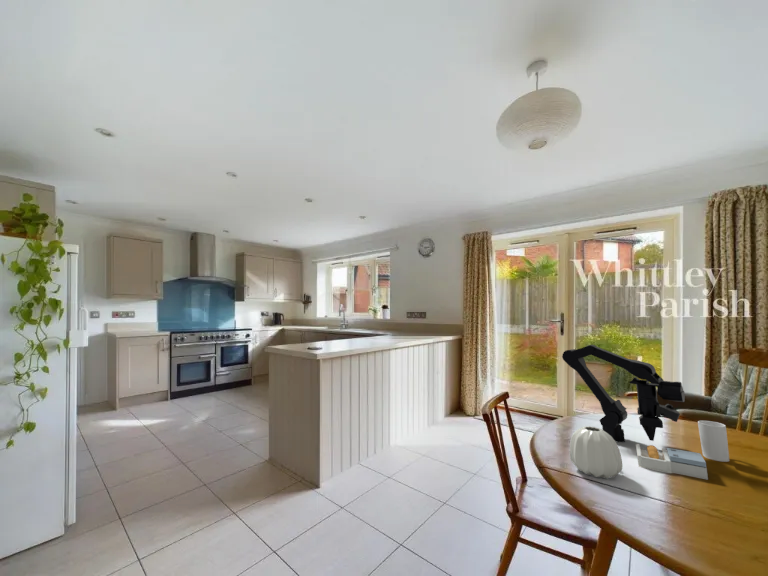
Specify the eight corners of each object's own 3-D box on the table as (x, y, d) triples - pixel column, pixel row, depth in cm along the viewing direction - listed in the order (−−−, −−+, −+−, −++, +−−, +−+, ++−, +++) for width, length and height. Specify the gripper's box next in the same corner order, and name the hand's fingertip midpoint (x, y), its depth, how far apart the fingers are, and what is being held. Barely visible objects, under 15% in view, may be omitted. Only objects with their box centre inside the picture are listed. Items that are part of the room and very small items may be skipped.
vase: (606, 487, 90) (602, 439, 92) (561, 468, 103) (558, 425, 104) (633, 477, 96) (628, 431, 97) (587, 459, 108) (584, 419, 110)
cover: (670, 460, 97) (669, 455, 97) (667, 451, 104) (666, 447, 104) (706, 467, 92) (705, 461, 93) (700, 457, 99) (700, 452, 99)
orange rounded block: (649, 460, 105) (648, 451, 106) (647, 452, 111) (646, 444, 112) (660, 462, 104) (659, 453, 104) (657, 454, 110) (656, 446, 110)
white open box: (639, 469, 101) (637, 456, 101) (636, 450, 115) (635, 439, 115) (709, 483, 91) (707, 469, 92) (696, 461, 105) (695, 449, 106)
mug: (729, 466, 102) (724, 428, 103) (700, 459, 107) (695, 423, 108) (733, 458, 108) (728, 422, 109) (705, 451, 113) (701, 417, 114)
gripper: (680, 405, 105) (685, 454, 103) (672, 395, 120) (677, 437, 118) (637, 401, 112) (642, 446, 110) (635, 391, 127) (639, 431, 125)
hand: (651, 440), depth 116 cm, fingers closed
